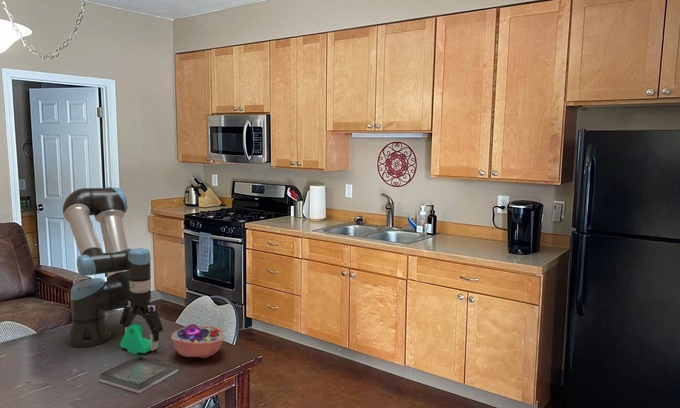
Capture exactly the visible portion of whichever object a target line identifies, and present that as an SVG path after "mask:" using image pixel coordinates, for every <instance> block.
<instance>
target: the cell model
mask: <svg viewBox="0 0 680 408" xmlns="http://www.w3.org/2000/svg"><path fill="white" fill-rule="evenodd" d="M170 338H171V339H172V342H173V347H174V349H175V351H176V352H177V353H178V354H179V355H180V356H182V357H183V358H184V357H185V358H199V359H200V358H202V359H208V358H210V357H212V356H213V355H215V354H217V352H218V351H219V350H220V347H221V345H222V343H223V339H224V331H223V330H221V329H219V328H218V327H215V326H204V325H196V324H195V323H194V324H193V323H190V324H188V325H186V326H184V327H182V328H179V329H177V330H175V331H174V332H172V334H171V337H170Z"/></svg>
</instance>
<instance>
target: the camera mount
mask: <svg viewBox="0 0 680 408" xmlns="http://www.w3.org/2000/svg"><path fill="white" fill-rule="evenodd" d="M143 331H144V328H143V326H142V325H141V323H139V322H136V323H133V324H131V326H130V325H129V327H128V328H127V330H126V332H125V334H124V335H123V336H122V339H121V341H120V342H119V344H120V348H124V349H127V352H128V353H130V354H134V355H139V354H140V353H141V354H145V353H148V352H150V351H151V339H150V338H145V337H143V336H142V334H143Z"/></svg>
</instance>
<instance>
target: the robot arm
mask: <svg viewBox="0 0 680 408" xmlns="http://www.w3.org/2000/svg"><path fill="white" fill-rule="evenodd" d="M127 211H128V200H127V196H126V194H125V192H124V191H123V189H121V188H120V187H112V186H111V187H110V186H109V187H85V188H78V189H76V190H73V192H71V193H70V194H69V195H68V196H67V197H66V199H65V201H64V202H63V205H62V214H63V217H64V219H65V220H66V221H67V222H68V223H69V225H70V229H71V231H72V235H73V237H74V240H75V244H76V247H77V249H78V253H79V256H77V258H76V268H77V272H78V275H80V276H81V277H82V276H95V275H100V274H101V275H102V274H106V273H107V274H108V273H109V274H108V276H107V277H106V281H105V279H103V278H101V277H96V278H95V277H94V278H87V279H83V280H80V281H78V282H76V283H74V284H73V285H72V287H71V289H70V308H71V324H70V328H69V333H68V334H67V338H66V339H67V345H68V346H70V347H76V348H87V347H92V346H93V347H94V346H98V345H101V344H104V343H106V342H108V341H109V340H111V337H112V336H111V334H112V333H111V330H110V327H109V324H108V321H107V320H106V319H107V318H106V312H110V311H116V310H121V309H122V313H121V317H120V320H119V322H118V323H119V325H121V326H123V333H124V334H125V332H126V330H127V328H128V327H129V326H131V325H132V322H133V321H134V320H135V318H136V316H139V317H142V318H143V319H144V320H145V322H146V324H147V326H148V327H149V329H150V331H151V333H150V335H149V337H150V338H149V340H151V350H150V351H153V352H154V350H157V349H158V348H159V340H160V339H159V335H160V333H161V332H163V330H164V327H163V325H162V322H161V319H160V315H159V313H158V307H157V306H158V305H156V304H154V305H151V304H150V302H151V300H152V291H151V289H152V282H151V279H152V277H151V276H152V275H151V274H152V273H151V260H152V259H151V252H150V250H149V248H142V247H141V248H128V244H127V239H126V235H125V233H126V232H125V229H124V228H125V227H124V223H123V218H124V217H125V213H127ZM90 216H93V217H94V220H95V221H96V222H97V223H99V225H100V230H101V236H102V241H103V246H104V250H105V252H104V251H103V249H102V246H101V243H100V240H99V238H98V236H97V233H96V230H95V228H94V225H93V222H92V219H91V217H90Z"/></svg>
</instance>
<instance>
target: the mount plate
mask: <svg viewBox="0 0 680 408" xmlns="http://www.w3.org/2000/svg"><path fill="white" fill-rule="evenodd" d="M178 372H179V364H177V363H172V362H168V361H166V360H162V359H157V358H154V357H149V356H146V355H143V354H138V356H136V357H133V358H131V359H129V360H127V361H125V362H123V363H121V364H119V365H117V366H114V367H112V368H110V369H107V370H106V371H104V372H102V373H99V382H100V383H103V384H106V385H109V386H113V387H116V388H119V389H122V390H125V391H128V392H133V393H136V394H138V395H139V394H141V393H143V392H144V391H146V390H148V389H150V388H151V387H154V386H155V385H157V384H159V383H160V382H162V381H164V380H166V379H167V378H169V377H171V376H173V375H175V374H177V373H178Z"/></svg>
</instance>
